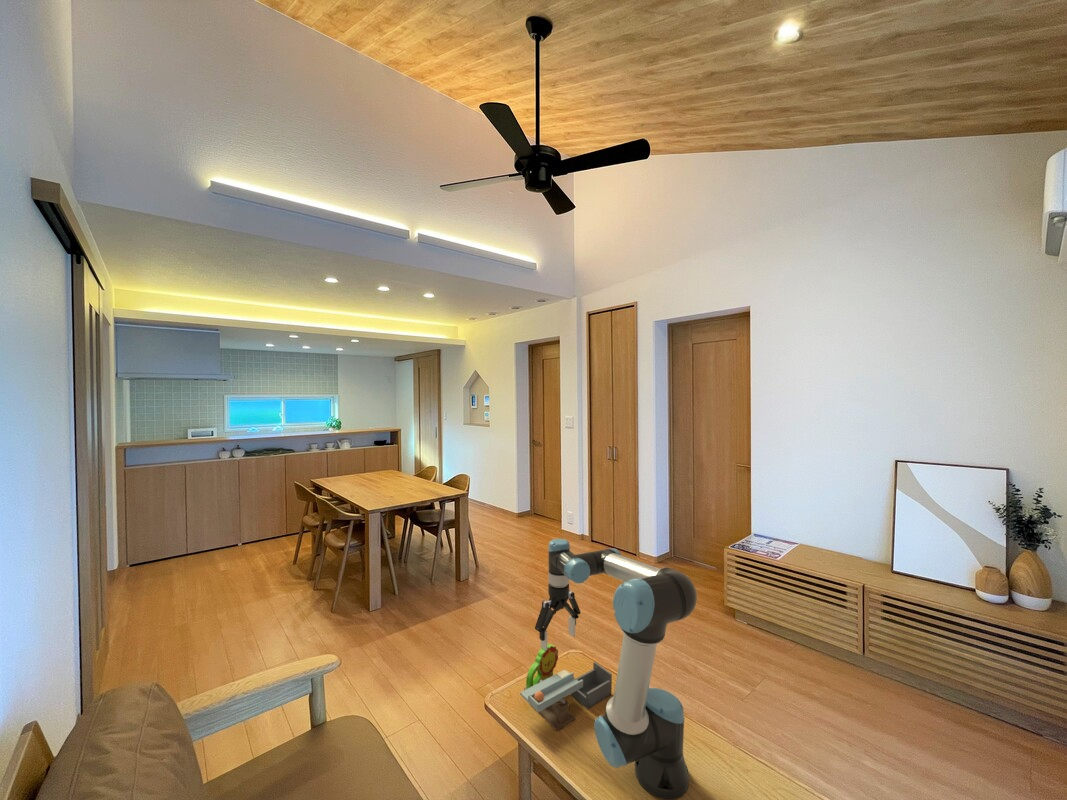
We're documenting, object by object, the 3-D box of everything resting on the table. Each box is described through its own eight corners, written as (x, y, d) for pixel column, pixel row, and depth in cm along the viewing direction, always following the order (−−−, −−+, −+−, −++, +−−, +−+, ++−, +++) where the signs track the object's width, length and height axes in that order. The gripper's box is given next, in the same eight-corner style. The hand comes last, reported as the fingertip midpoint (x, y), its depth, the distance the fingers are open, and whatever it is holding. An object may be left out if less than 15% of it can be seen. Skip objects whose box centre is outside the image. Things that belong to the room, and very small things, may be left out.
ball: (545, 702, 144) (546, 692, 144) (538, 706, 142) (538, 697, 142) (539, 696, 147) (540, 687, 146) (532, 700, 145) (532, 691, 145)
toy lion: (533, 702, 155) (534, 661, 155) (522, 695, 159) (523, 654, 159) (561, 680, 167) (561, 642, 167) (550, 674, 171) (551, 636, 170)
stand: (575, 720, 147) (575, 701, 147) (557, 731, 143) (557, 712, 142) (547, 695, 159) (547, 677, 159) (529, 704, 154) (529, 686, 154)
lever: (585, 691, 152) (586, 682, 152) (541, 717, 139) (541, 707, 139) (561, 671, 162) (561, 663, 162) (517, 694, 150) (517, 685, 150)
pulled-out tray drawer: (611, 694, 160) (611, 673, 159) (587, 709, 152) (587, 687, 152) (594, 682, 167) (594, 661, 166) (571, 695, 159) (571, 674, 159)
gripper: (576, 570, 167) (575, 625, 168) (525, 589, 152) (524, 649, 152) (590, 577, 161) (589, 633, 162) (538, 597, 146) (538, 659, 146)
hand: (558, 641), depth 157 cm, fingers open, 13 cm apart
